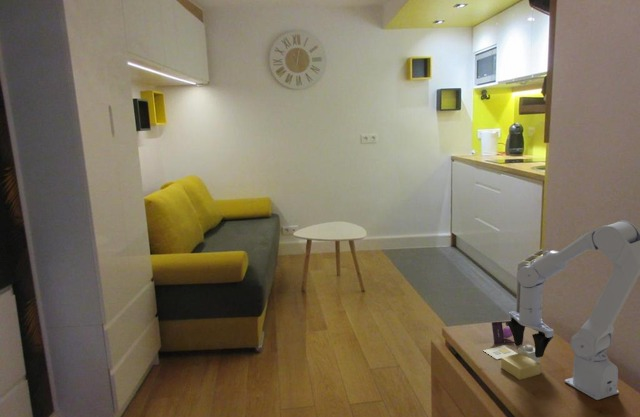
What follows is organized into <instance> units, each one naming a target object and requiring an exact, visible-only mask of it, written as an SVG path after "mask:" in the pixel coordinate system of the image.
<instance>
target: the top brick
mask: <svg viewBox="0 0 640 417" xmlns="http://www.w3.org/2000/svg"><path fill="white" fill-rule="evenodd" d="M517 347H518V346H517ZM517 353H522V354H524V355H525V356H527V357H529V358H531V359H532V360H534V361H536V362H538V363H540V358H541V357H539V358H537V357H536V356H535V346H533V345H531V344H525V345H521V346H519V347H518V349H517Z"/></svg>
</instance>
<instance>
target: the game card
mask: <svg viewBox="0 0 640 417" xmlns="http://www.w3.org/2000/svg"><path fill="white" fill-rule="evenodd" d="M509 321H510V320H506V321H492V322H491V327H492V334H493V335H492V336H493V343H494V345H503V344H504V345H505V344H515V342H514V340H513V341H505V339H508V338H512V337H513V334H512V332H511V329H510V327H509V326H508V322H509ZM504 323H505V325H506V327H504V326H503V324H504Z"/></svg>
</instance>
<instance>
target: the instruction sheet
mask: <svg viewBox="0 0 640 417" xmlns="http://www.w3.org/2000/svg"><path fill="white" fill-rule="evenodd" d="M483 351H484V353H485V352H486V353H485V354H487V355H488V354H489V356H490V357H491V356H492V357H491V358H493V359H495V360H496V361H497V360H501V358H503V357H507V356H511V355H515V354H518V352H516V351H514V350H513V349H511V348H510V347H508V346H506V345H505V344H504V345H503V344H502V345H499V346H495V347H491V348H487V349H483V350H482V352H483Z"/></svg>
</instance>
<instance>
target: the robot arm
mask: <svg viewBox="0 0 640 417" xmlns="http://www.w3.org/2000/svg"><path fill="white" fill-rule="evenodd" d="M590 250H592V251H597V250H599V251H600V252H601V253H602V254H603V255H605V256H606V257H607V259H609V260H610V261H611V263H612V264H613V266H614V267H613V270H612V272H611V274H610V276H609V278H608V280H607V282H606V284H605V285H604V288H603V290H602V292H601V293H600V296H599V298H598V300H597V302H596V304H595V306H594V308H593V310H592V311H591V314H590V316H589V317H588V320H586V322H584V323H583V325H582V326H581V327H580V329H579V330H578V332H577V333H575V334H573V335H572V336H571V338H570V340H569V345H570V348H571V350H572V351H573V353H574V354H573V355H574V356H573V371H572V373H573V374H572V377H570V378H566V379H564V383H566V384H568V385H570V386H571V387H573V388H575V389H577V390H578V391H580V392H581V393H584V394H585V395H587V396H588V397H590V398H592V399H594V400H597V401H598V400H602V399H604V398H607V397H611V396H614V395H617V394H619V393H620V391H619V389H618V380H619V369H618V368H619V367H617V365H616V364H615V363H613V362H612V361H610V359H609V357H608V352H607V350H608V349H607V348H610V347H611V345H612V344H613V332H614V331H615V327H614V326H613V325H614V324H615V323H616V320H617V319H618V316H619V314H620V313H621V311H622V309H623V307H624V305H625V303H626V301H627V299H628V297H629V296H630V294H631V292H632V290H633V289H634V286H635V284H636V282H637V280H638V279H639V277H640V230H639V228H637V226H636V225H635V224H634V223H632V222H631V221H628V220H619V221H616V222H614V223H611V224H608V225H602V226H600V227H598V228H597V229H595V230H592V231H589V232H587V233H585V234H583V235H581V236H580V237H579V238H577V239H576V240H574V241H573V242H572V243H570V244H568V245H567V246H566V247H564V248H562V249H561V250H560V251H558V250H553V249H552V250H546V251H543V252H542V255H541V256H540V257H539V258H537V259H532V260H531V261H529V263H530V264H528V265H526V266H521V267H520V268H519V269H518V271H516V279H517V282H518V283H519V284H520V290H519V312H517V311H514V310H513V311H509V312H508V321H509V322H508V326H507V327H510V329H511V332H512V334H513V335H512V337H513V341H514V342H515V343H514V346H515V347H518V346H519V347H520V346H523V342H524V333H525V329H526V328H529V329H532V330H534V331H535V332H538V333H533V334H532V339H533V342H534V348H535V356H536V357H537V358H539V357H540V358H542V357H544V354H545V351H546V349H547V346H548V344H549V343H550V342H551V340H552V339H553V338H554V332H555V331H554V329H553V328H550V327H549V326H548V325H547V324H546V323H544V322H543V321H544V319H543V318H542V314H543V313H542V310H543V291H544V290H543V288H544V285H545V284H544V283H546V281H548V279H551V278H552V277H553V276H555V275H557V274H559V273H560V272H562V271H564V270H566V269H567V267H568V262H569V261H570V260H572V259H573V260H574V259H575V258H577V257H578V256H580V255H582V254H584V253H585V252H587V251H590Z"/></svg>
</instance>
